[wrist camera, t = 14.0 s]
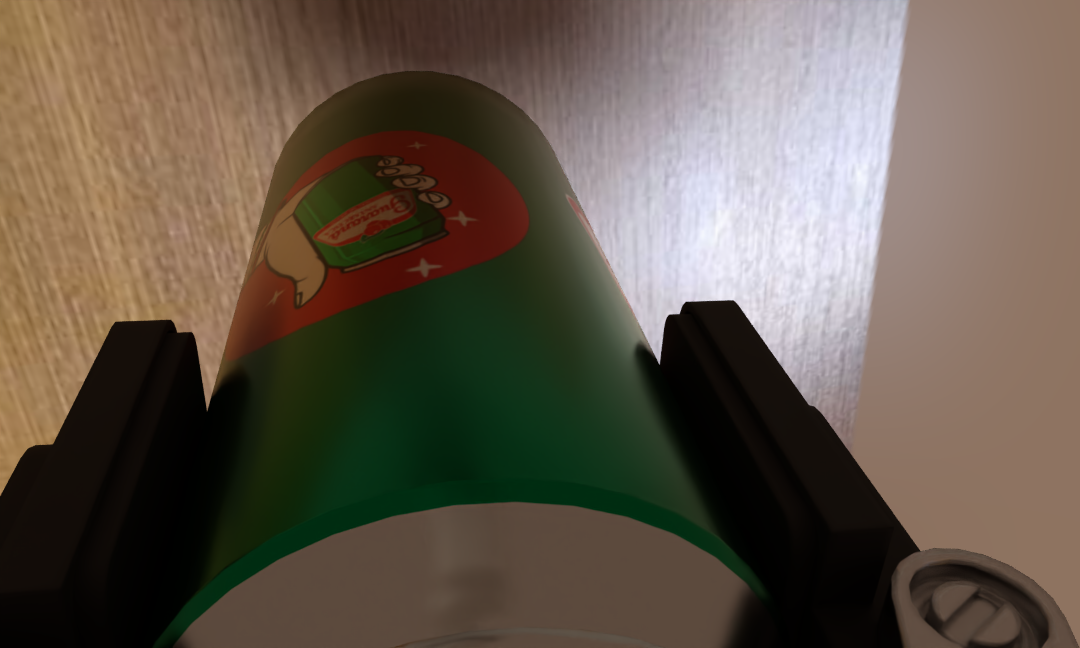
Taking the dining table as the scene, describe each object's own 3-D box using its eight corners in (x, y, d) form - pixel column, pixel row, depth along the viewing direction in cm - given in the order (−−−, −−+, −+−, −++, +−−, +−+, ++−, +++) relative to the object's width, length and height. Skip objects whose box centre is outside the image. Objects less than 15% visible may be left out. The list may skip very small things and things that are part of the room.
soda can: (518, 351, 18) (700, 1072, 8) (250, 304, 17) (53, 1094, 7) (598, 102, 16) (991, 651, 6) (298, 25, 15) (116, 559, 4)
